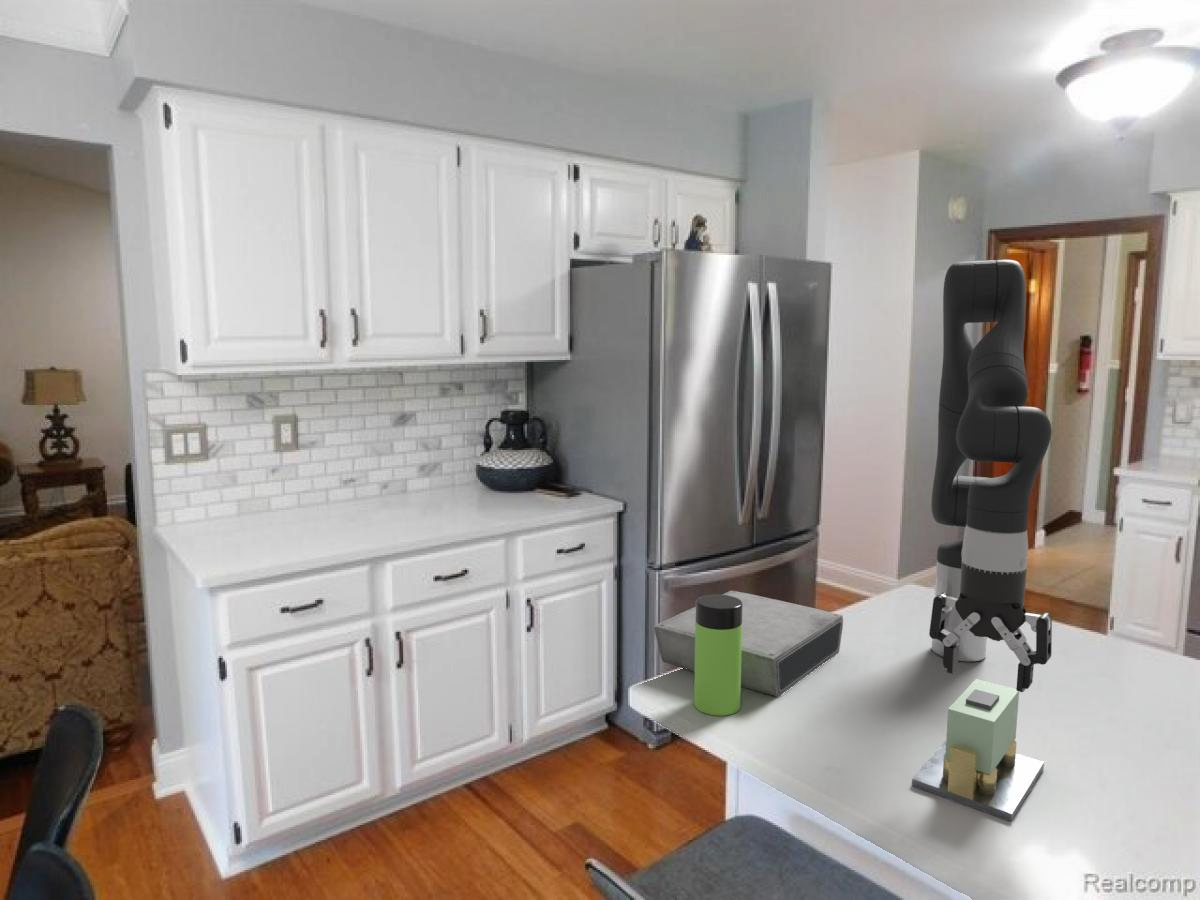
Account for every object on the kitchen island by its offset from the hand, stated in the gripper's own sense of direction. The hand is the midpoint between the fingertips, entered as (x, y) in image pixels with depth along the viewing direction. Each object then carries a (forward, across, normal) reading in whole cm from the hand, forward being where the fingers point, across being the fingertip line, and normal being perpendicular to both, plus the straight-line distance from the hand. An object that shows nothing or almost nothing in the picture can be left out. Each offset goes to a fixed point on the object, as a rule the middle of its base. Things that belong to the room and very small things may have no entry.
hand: (985, 680), depth 106 cm
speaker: (+14, +44, -16) cm, 49 cm away
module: (+10, 0, 0) cm, 10 cm away
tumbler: (+14, +38, +5) cm, 41 cm away
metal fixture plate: (+14, 0, 0) cm, 14 cm away
